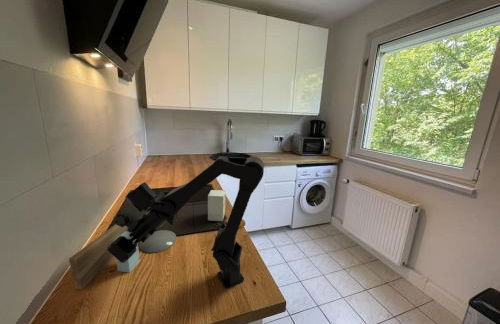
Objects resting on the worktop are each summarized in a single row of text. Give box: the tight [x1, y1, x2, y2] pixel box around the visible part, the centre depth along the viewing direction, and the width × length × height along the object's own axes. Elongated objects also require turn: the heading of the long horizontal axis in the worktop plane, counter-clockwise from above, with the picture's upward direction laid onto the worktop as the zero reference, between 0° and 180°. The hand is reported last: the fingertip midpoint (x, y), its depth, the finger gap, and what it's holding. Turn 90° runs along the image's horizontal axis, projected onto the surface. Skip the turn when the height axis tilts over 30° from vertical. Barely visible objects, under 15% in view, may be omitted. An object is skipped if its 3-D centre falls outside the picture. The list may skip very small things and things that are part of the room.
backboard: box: [68, 223, 129, 290], centre depth 65 cm, size 2×20×10 cm, turn 175°
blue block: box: [114, 231, 140, 273], centre depth 64 cm, size 4×5×11 cm
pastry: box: [223, 217, 246, 230], centre depth 91 cm, size 9×7×4 cm
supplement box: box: [207, 189, 226, 222], centre depth 96 cm, size 7×7×13 cm
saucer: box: [138, 229, 177, 254], centre depth 78 cm, size 13×13×1 cm
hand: (122, 248), depth 64 cm, fingers closed on blue block, 5 cm apart
